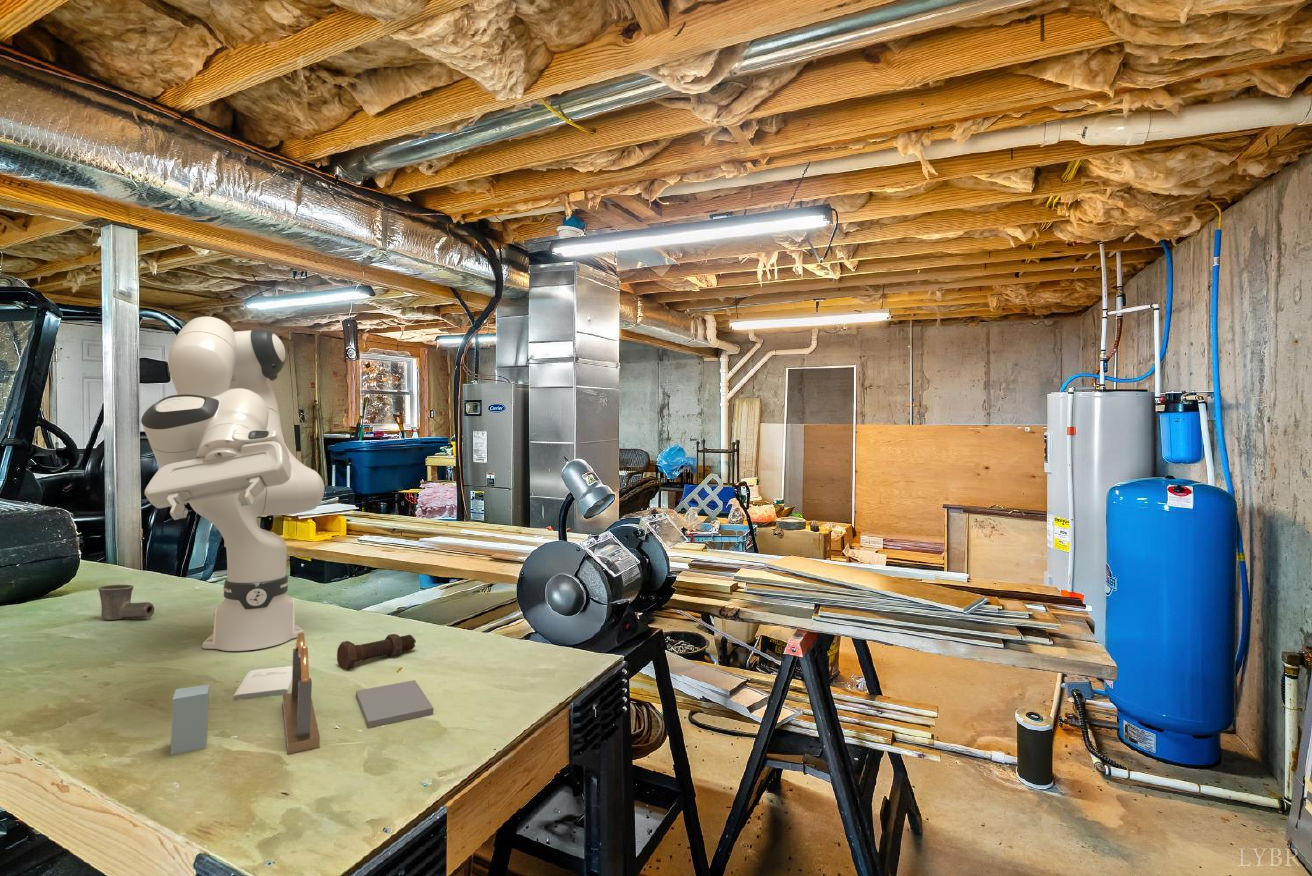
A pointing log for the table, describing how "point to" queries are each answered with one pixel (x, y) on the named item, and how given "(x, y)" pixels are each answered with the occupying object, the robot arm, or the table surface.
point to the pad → (393, 703)
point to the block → (189, 719)
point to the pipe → (122, 603)
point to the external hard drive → (265, 683)
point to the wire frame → (300, 704)
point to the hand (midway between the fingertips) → (211, 509)
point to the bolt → (373, 650)
